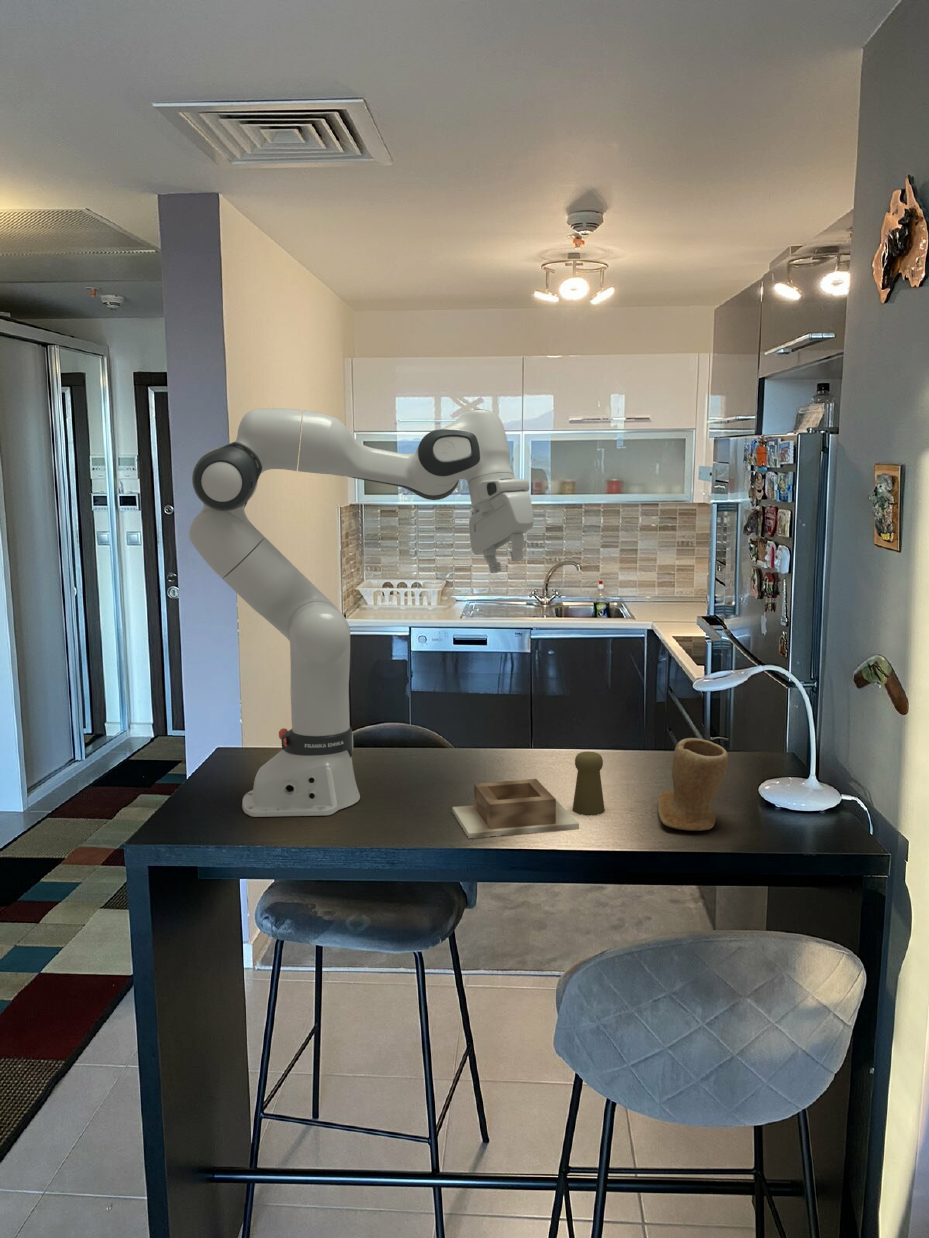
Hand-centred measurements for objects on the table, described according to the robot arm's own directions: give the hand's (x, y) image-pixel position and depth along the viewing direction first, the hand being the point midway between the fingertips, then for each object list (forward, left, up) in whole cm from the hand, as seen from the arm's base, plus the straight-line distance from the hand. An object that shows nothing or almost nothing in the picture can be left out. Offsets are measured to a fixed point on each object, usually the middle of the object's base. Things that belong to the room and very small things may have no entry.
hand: (506, 566), depth 179 cm
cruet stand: (-1, -10, -45) cm, 47 cm away
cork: (+14, -8, -46) cm, 48 cm away
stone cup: (+30, -18, -46) cm, 57 cm away
